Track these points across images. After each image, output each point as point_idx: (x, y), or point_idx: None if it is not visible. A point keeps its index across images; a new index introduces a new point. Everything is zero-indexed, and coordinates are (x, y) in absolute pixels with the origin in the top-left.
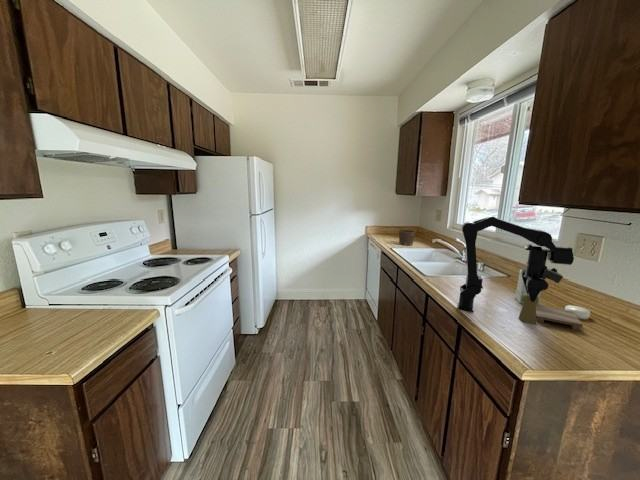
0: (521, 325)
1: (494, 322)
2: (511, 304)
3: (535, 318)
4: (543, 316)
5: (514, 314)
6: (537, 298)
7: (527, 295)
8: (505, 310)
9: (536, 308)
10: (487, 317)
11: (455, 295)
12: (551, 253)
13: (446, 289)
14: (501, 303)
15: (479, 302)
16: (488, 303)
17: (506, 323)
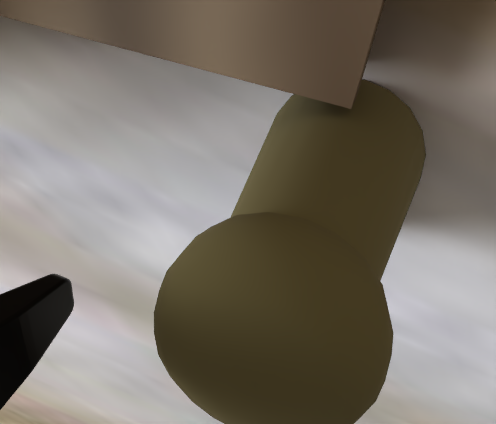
0: (480, 257)
1: (457, 413)
2: (4, 128)
3: (391, 132)
4: (347, 27)
5: (225, 201)
6: (279, 307)
7: (218, 412)
8: (169, 233)
9: (86, 4)
10: (370, 408)
11: (79, 398)
12: None
13: (19, 397)
14: (35, 199)
15: (111, 331)
16: (94, 287)
17: (458, 349)
